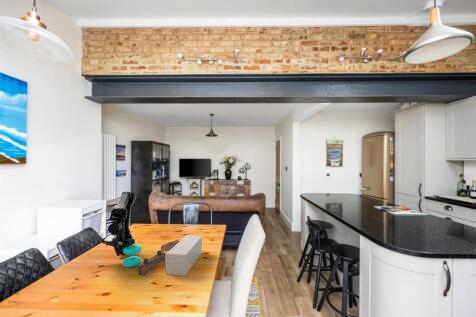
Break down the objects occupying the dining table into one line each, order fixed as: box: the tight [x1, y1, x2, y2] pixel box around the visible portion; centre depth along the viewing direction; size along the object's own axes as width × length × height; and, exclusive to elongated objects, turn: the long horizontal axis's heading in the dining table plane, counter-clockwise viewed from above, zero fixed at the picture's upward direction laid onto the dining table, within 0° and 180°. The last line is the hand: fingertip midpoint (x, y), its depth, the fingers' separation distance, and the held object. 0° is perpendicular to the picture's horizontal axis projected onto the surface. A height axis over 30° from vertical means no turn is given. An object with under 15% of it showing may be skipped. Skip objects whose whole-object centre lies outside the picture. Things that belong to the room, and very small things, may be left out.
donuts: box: [122, 244, 143, 268], centre depth 139 cm, size 10×10×10 cm
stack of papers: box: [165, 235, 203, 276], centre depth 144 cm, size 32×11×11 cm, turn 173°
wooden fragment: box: [160, 239, 181, 253], centre depth 172 cm, size 26×11×1 cm, turn 166°
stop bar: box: [137, 249, 166, 276], centre depth 136 cm, size 3×20×7 cm, turn 163°
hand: (118, 255), depth 142 cm, fingers closed
